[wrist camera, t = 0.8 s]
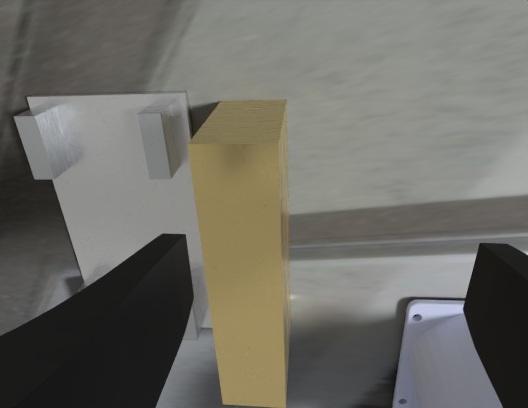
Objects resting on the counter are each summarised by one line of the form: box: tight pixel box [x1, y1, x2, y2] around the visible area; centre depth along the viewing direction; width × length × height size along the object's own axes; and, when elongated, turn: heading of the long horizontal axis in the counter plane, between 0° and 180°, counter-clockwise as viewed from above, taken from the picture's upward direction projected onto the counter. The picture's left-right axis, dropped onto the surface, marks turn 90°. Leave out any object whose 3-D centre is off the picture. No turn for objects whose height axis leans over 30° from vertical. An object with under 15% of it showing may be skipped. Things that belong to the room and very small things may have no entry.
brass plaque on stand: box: [187, 100, 291, 408], centre depth 19 cm, size 13×3×6 cm, turn 2°
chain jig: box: [14, 91, 212, 340], centre depth 21 cm, size 14×8×2 cm, turn 3°
